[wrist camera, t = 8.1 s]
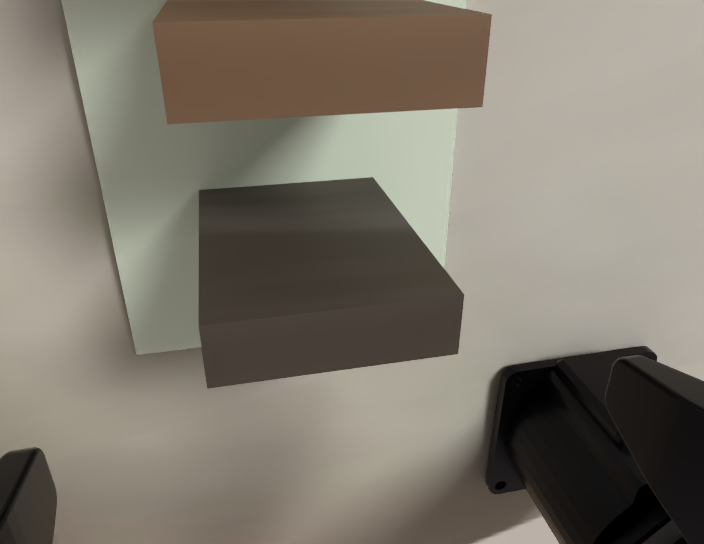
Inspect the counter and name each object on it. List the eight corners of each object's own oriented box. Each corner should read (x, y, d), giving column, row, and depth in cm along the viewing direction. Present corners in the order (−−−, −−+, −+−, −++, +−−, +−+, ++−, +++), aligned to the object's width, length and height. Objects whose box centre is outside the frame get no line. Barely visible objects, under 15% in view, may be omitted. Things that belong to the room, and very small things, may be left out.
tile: (372, 220, 18) (458, 353, 12) (204, 235, 17) (207, 388, 11) (373, 177, 17) (464, 294, 11) (198, 189, 16) (198, 325, 10)
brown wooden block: (374, 48, 16) (482, 107, 10) (180, 54, 15) (167, 124, 9) (375, -10, 15) (491, 14, 9) (171, -8, 14) (151, 22, 8)
